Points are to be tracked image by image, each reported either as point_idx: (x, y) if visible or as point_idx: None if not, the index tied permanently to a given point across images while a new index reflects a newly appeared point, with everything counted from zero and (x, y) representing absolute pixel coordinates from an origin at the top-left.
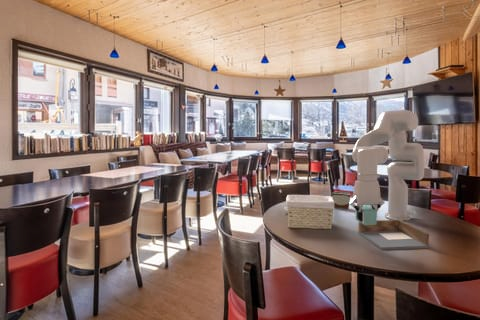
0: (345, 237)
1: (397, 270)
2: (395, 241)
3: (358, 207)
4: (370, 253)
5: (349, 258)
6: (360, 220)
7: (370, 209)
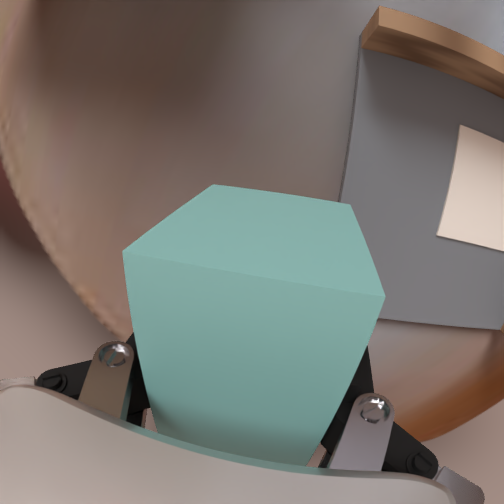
0: (227, 83)
1: None
2: (449, 262)
3: (114, 391)
4: None
5: None
6: None
7: (262, 450)
